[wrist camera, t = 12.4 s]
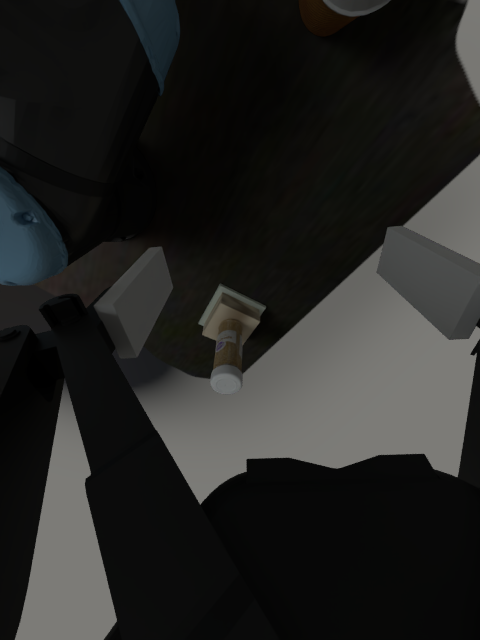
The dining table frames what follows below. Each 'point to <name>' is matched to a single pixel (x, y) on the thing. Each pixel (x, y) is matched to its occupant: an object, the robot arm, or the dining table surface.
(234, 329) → the sprinkles bottle
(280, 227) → the dining table surface
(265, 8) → the dining table surface
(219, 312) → the beech block
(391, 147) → the dining table surface
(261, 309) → the plate
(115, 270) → the dining table surface
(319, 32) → the disposable coffee cup
